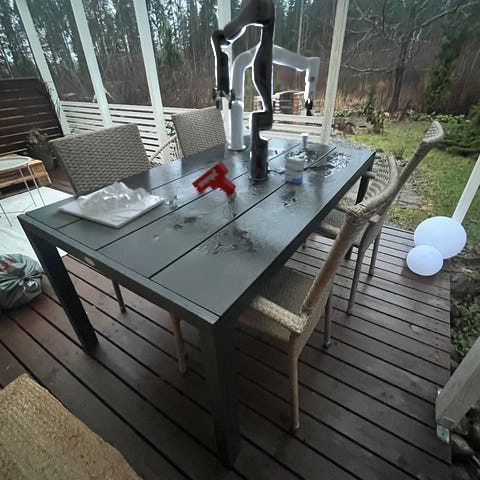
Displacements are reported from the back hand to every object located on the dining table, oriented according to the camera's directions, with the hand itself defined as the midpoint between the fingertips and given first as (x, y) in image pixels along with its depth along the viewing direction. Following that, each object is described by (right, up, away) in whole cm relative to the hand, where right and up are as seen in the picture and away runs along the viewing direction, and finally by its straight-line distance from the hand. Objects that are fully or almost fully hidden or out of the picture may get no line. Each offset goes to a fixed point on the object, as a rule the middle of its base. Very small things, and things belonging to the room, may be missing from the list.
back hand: (308, 108), depth 187 cm
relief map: (-103, -76, -67) cm, 144 cm away
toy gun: (-60, -68, -56) cm, 106 cm away
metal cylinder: (0, -22, +14) cm, 27 cm away
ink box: (-19, -60, -43) cm, 76 cm away
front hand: (-56, -16, -32) cm, 67 cm away
